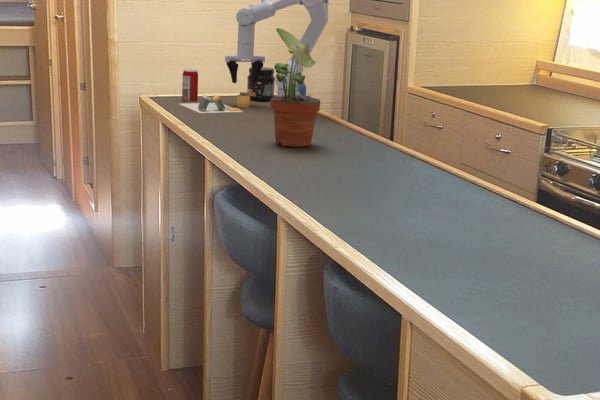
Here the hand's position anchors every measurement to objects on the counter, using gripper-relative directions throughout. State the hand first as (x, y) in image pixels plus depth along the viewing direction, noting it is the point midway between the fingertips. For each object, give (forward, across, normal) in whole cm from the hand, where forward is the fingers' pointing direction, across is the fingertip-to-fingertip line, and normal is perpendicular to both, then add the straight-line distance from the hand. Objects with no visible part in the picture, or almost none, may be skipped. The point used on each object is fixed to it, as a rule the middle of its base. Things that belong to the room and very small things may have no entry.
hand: (244, 82), depth 311 cm
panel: (+10, +13, +1) cm, 16 cm away
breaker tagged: (+8, +11, +7) cm, 15 cm away
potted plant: (+10, +13, +62) cm, 64 cm away
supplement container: (+10, -17, -21) cm, 29 cm away
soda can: (+10, +13, -18) cm, 24 cm away
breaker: (+8, +19, +7) cm, 22 cm away
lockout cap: (+10, 0, 0) cm, 10 cm away
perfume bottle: (+10, -27, -12) cm, 31 cm away
